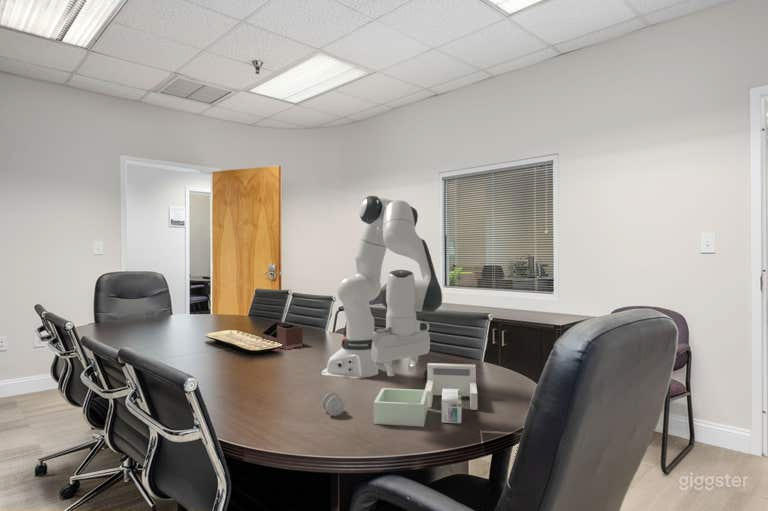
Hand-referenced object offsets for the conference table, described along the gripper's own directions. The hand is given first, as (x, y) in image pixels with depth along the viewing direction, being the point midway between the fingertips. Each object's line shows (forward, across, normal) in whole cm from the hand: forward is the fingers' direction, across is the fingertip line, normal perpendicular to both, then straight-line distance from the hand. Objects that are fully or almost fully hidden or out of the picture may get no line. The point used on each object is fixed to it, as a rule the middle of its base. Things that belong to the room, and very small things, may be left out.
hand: (401, 373), depth 135 cm
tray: (+13, 0, 0) cm, 13 cm away
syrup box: (+10, +18, -3) cm, 20 cm away
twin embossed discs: (+13, -14, +15) cm, 24 cm away
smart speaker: (+13, +35, +20) cm, 43 cm away
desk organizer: (+13, +23, +122) cm, 125 cm away
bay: (+13, +22, 0) cm, 25 cm away
